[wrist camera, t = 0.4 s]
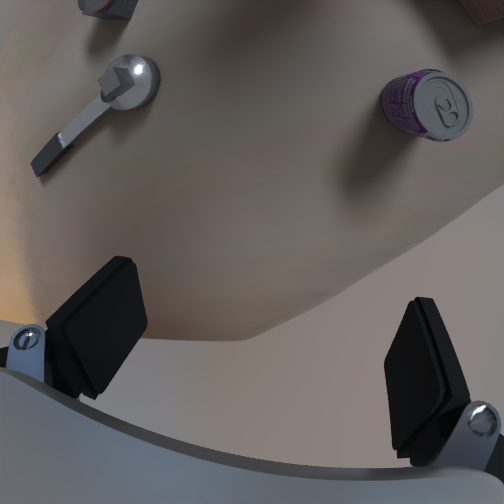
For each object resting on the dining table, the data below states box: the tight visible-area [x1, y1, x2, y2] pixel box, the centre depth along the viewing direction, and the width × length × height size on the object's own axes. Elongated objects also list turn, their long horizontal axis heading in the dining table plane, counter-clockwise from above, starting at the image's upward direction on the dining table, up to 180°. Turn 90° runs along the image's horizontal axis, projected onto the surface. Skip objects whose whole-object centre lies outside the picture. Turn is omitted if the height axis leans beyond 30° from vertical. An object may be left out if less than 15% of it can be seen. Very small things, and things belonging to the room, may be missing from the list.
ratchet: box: [31, 54, 161, 177], centre depth 36 cm, size 30×8×6 cm, turn 115°
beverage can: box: [382, 69, 473, 142], centre depth 24 cm, size 7×7×12 cm
